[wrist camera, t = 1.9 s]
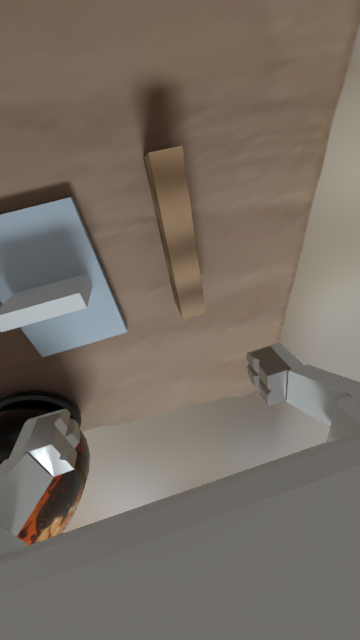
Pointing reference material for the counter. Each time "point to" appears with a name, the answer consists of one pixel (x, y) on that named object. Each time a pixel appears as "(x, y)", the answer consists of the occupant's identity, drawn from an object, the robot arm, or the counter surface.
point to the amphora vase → (65, 489)
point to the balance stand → (54, 279)
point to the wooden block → (176, 227)
